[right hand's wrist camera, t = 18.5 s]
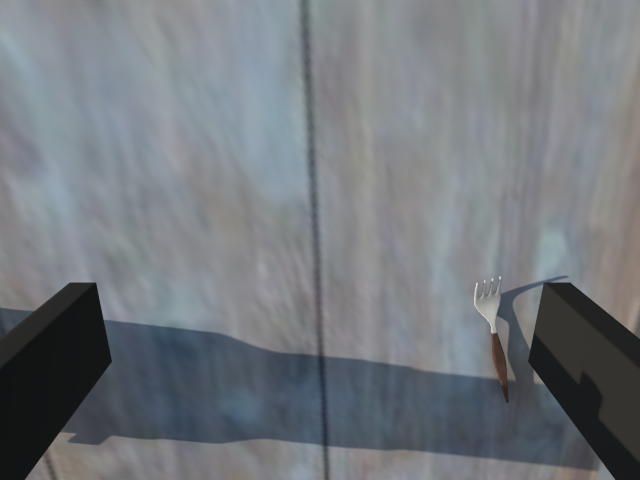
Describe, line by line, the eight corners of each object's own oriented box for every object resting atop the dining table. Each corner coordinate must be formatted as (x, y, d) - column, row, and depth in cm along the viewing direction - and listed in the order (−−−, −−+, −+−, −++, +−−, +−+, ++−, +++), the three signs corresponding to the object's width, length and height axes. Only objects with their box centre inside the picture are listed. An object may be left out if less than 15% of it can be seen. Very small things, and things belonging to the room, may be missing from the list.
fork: (493, 402, 47) (500, 415, 45) (467, 274, 42) (474, 283, 40) (517, 396, 47) (525, 409, 45) (495, 267, 41) (503, 276, 39)
